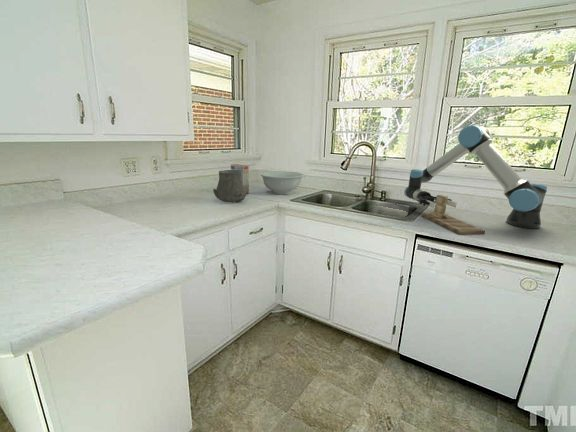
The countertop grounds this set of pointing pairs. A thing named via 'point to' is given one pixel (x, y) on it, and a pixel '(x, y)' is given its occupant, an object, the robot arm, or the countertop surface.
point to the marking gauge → (440, 207)
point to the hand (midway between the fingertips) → (444, 205)
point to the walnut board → (454, 224)
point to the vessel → (230, 186)
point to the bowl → (281, 181)
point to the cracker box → (243, 175)
